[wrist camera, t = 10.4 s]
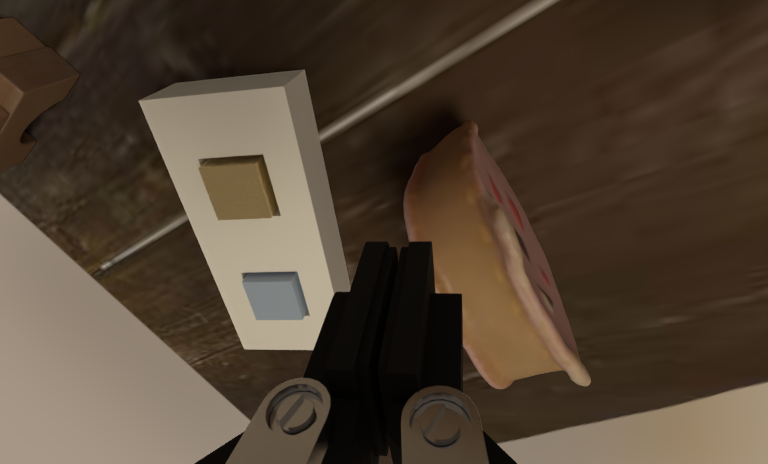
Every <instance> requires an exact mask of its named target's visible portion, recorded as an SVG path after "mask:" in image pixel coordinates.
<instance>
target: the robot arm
mask: <svg viewBox="0 0 768 464" xmlns="http://www.w3.org/2000/svg"><path fill="white" fill-rule="evenodd" d="M389 446H390V451H391V455H392V460H393V464H517V463H516V462H515V461H514V460H513V459H512V458H511V457H510V456H508V454H506V453H505V451H503V450H502V449H501V448H500V447H499V446H498V445H497V444H496V443H495V442H494V441H493V440H492V439H491V438H490V437H489V436H488V435H487V434H486V433H485V432H484V431H483V430H482V426H481V421H480V416H479V413H478V411H477V408H476V406H475V404H474V403H473V402H472V401H471V399H470V398H469V397H468V396H467V395H465V394H464V393H463V312H462V294H456V293H436V291H435V277H434V262H433V248H432V242H431V241H410V243H409V247H402V248H401V252H400V257H399V262H398V256H397V249H396V247H389V243H388V242H366V243H365V246H364V249H363V252H362V255H361V258H360V261H359V264H358V267H357V271H356V274H355V277H354V280H353V283H352V286H351V289H350V292H336V293H335V294H334V296H333V298H332V300H331V303H330V306H329V308H328V311H327V314H326V317H325V319H324V322H323V325H322V328H321V330H320V333H319V336H318V339H317V341H316V344H315V347H314V350H313V352H312V355H311V358H310V360H309V363H308V366H307V369H306V371H305V374H304V377H303V378H296V379H292V380H288V381H286V382H284V383H282V384H280V385H278V386H277V387H276V388H275V389H273V390H272V391H271V392H270V393H269V394H268V395H267V396H266V398H265V399H264V400H263V402H262V403H261V405H260V407H259V408H258V410H257V412H256V413H255V415H254V417H253V418H252V420H251V422H250V424H249V425H248V427H247V428H246V430H245V431H244V432H243V433H241V434H240V435H238V436H237V437H235V438H234V439H232V440H230V441H229V442H227V443H226V444H225V445H223V446H221V447H220V448H218V449H217V450H215V451H213V452H212V453H210V454H209V455H207V456H206V457H204V458H203V459H201V460H199V461H198V462H196V463H195V464H378V462H379V456H380V455H381V456H387V454H388V450H389Z"/></svg>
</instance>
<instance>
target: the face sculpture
mask: <svg viewBox="0 0 768 464" xmlns="http://www.w3.org/2000/svg"><path fill="white" fill-rule="evenodd" d="M403 205H404V219H405V224H406V229H407V234H408V239H409V243H410V241H431V242H432V248H433V262H434V277H435V291H436V293H456V294H462V312H463V347H464V348H465V350H466V352H467V353H468V355H469V357H470V359H471V360H472V362H473V364H474V365H475V367H476V368H477V370H478V371H479V373H480V374H481V375H482V377H483V378H484V379H485V380H486V381H487V382H488V383H489V384H490V385H491V386H492V387H494V388H497V389H504V388H506V387H508V386H509V385H510V384H512V382H513V381H514V380H516V379H521V378H526V377H530V376H533V375H538V374H542V373H547V372H553V371H560V370H565V371H566V372H567V373H568V375H569V376H570V378H571V379H572V381H574V382H575V383H577V384H578V385H581V386H588V385H590V383H591V378H590V376H589V374H588V372H587V370H586V368H585V366H584V364H583V363H582V362H581V360H580V359H579V355H578V352H577V348H576V343H575V340H574V337H573V335H572V331H571V328H570V325H569V322H568V318H567V316H566V313H565V311H564V308H563V305H562V302H561V298H560V295H559V293H558V290H557V288H556V285H555V282H554V279H553V276H552V273H551V270H550V267H549V264H548V262H547V259H546V257H545V254H544V252H543V250H542V247H541V245H540V244H539V242H538V240H537V238H536V236H535V234H534V232H533V230H532V228H531V225H530V223H529V221H528V219H527V217H526V215H525V213H524V211H523V209H522V207H521V205H520V203H519V202H518V200H517V198H516V196H515V194H514V192H513V190H512V189H511V187H510V185H509V184H508V182H507V180H506V179H505V177H504V176H503V174H502V172H501V171H500V169H499V167H498V166H497V164H496V163H495V161H494V159H493V158H492V157H491V155H490V154H489V152H488V151H487V149H486V147H485V146H484V144H483V142H482V141H481V139H480V137H479V135H478V126H477V124H476V123H475V122H474V121H472V120H467V121H466V122H465V123H464V124H463V125H462V126H460V127H458V128H456V129H455V130H453V131H452V132H451V133H449V134H448V135H447V136H446V137H445V138H444V139H442V140H441V141H440V142H439V143H438V145H437V146H436V147H434V148H433V149H432V150H431V151H429V152H427V153H424V154H422V155H421V156H420V158H419V161H418V162H417V164H416V165H415V167H414V170H413V173H412V176H411V178H410V180H409V181H408V184H407V187H406V189H405V194H404V202H403Z"/></svg>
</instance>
